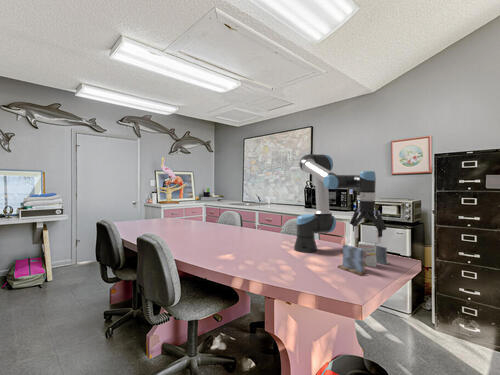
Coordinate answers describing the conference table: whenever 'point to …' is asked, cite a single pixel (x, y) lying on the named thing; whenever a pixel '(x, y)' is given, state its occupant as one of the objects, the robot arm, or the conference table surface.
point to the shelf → (353, 260)
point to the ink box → (369, 253)
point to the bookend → (381, 255)
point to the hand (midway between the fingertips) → (366, 240)
